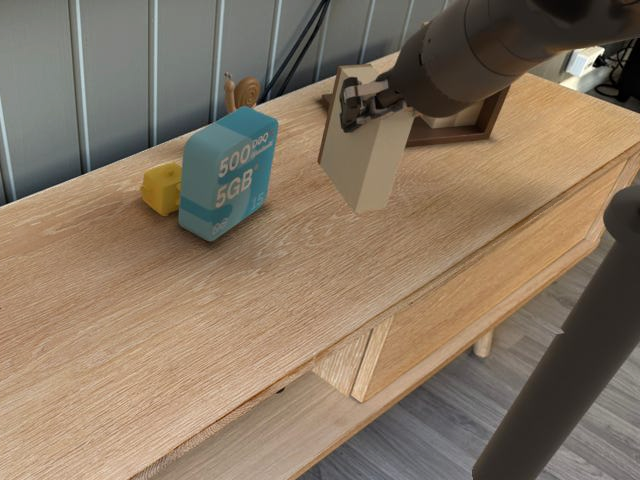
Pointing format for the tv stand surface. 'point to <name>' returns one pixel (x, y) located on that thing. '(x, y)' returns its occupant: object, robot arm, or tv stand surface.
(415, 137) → the book rack
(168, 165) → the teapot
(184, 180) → the data package
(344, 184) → the cream book
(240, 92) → the snail figurine
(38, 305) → the tv stand surface
